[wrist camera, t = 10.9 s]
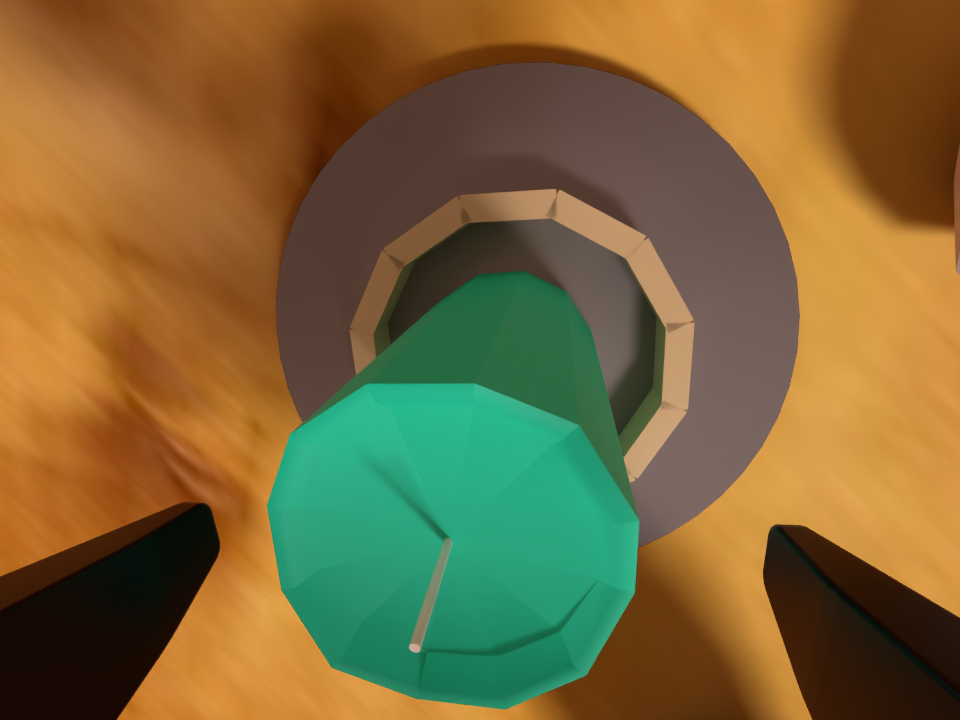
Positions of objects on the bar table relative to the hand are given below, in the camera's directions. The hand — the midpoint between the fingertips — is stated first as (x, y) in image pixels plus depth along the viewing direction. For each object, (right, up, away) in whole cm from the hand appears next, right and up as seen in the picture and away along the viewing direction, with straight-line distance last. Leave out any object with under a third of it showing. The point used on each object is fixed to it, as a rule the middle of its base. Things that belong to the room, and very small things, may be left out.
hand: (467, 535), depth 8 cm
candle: (+1, +3, +10) cm, 10 cm away
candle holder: (+2, +3, +10) cm, 11 cm away
